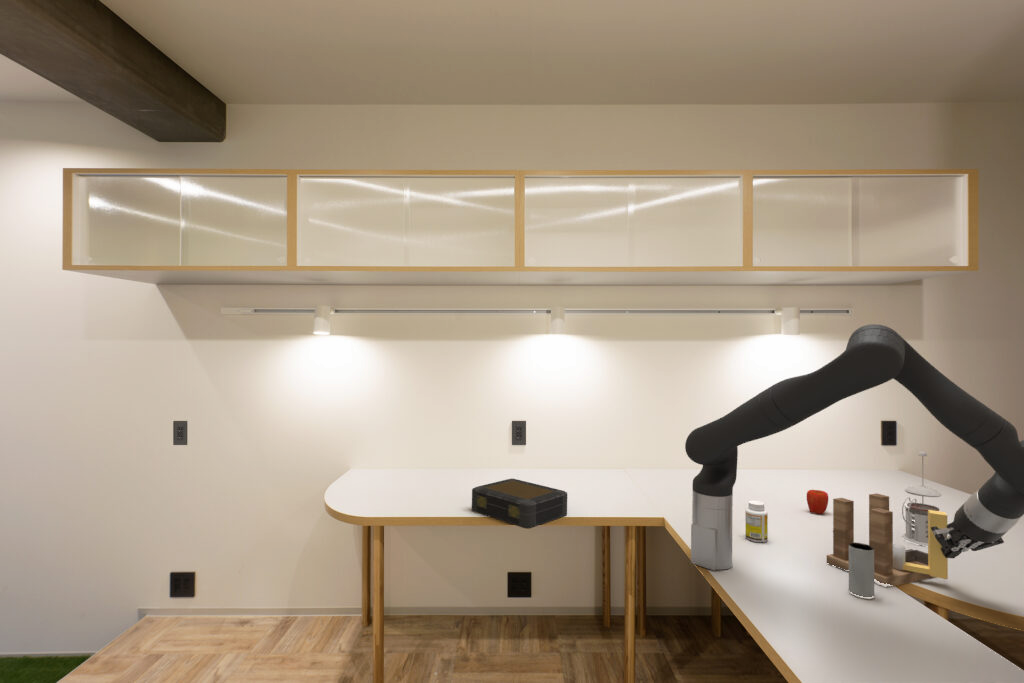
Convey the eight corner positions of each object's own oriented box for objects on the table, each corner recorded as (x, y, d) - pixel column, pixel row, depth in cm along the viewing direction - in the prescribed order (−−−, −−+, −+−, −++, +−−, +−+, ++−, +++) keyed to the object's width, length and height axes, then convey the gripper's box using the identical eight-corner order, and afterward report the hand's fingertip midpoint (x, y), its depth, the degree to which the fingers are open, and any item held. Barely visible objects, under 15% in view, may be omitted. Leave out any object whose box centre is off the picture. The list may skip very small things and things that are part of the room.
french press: (955, 546, 140) (954, 454, 140) (924, 550, 136) (923, 455, 137) (917, 534, 149) (917, 447, 150) (887, 537, 146) (887, 449, 147)
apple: (817, 516, 164) (817, 493, 164) (801, 511, 170) (801, 488, 170) (833, 515, 166) (833, 492, 166) (817, 509, 172) (817, 487, 172)
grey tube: (851, 597, 109) (851, 548, 109) (846, 588, 113) (846, 541, 113) (877, 601, 107) (877, 551, 107) (870, 591, 111) (870, 544, 112)
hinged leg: (893, 569, 118) (892, 507, 119) (891, 564, 121) (891, 504, 121) (947, 579, 113) (947, 515, 113) (945, 574, 116) (944, 512, 116)
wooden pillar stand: (885, 587, 113) (885, 514, 114) (826, 563, 126) (826, 498, 127) (937, 576, 120) (937, 507, 121) (876, 554, 133) (876, 492, 134)
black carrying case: (570, 515, 162) (570, 490, 162) (527, 530, 147) (528, 503, 147) (512, 499, 179) (513, 477, 179) (469, 511, 164) (469, 487, 165)
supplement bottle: (760, 536, 145) (760, 499, 146) (771, 543, 140) (771, 505, 140) (741, 536, 145) (741, 499, 145) (752, 543, 139) (752, 505, 140)
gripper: (959, 530, 100) (921, 568, 111) (1038, 534, 97) (990, 573, 109) (941, 495, 105) (906, 535, 117) (1015, 498, 103) (972, 539, 114)
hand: (947, 554), depth 113 cm, fingers closed
